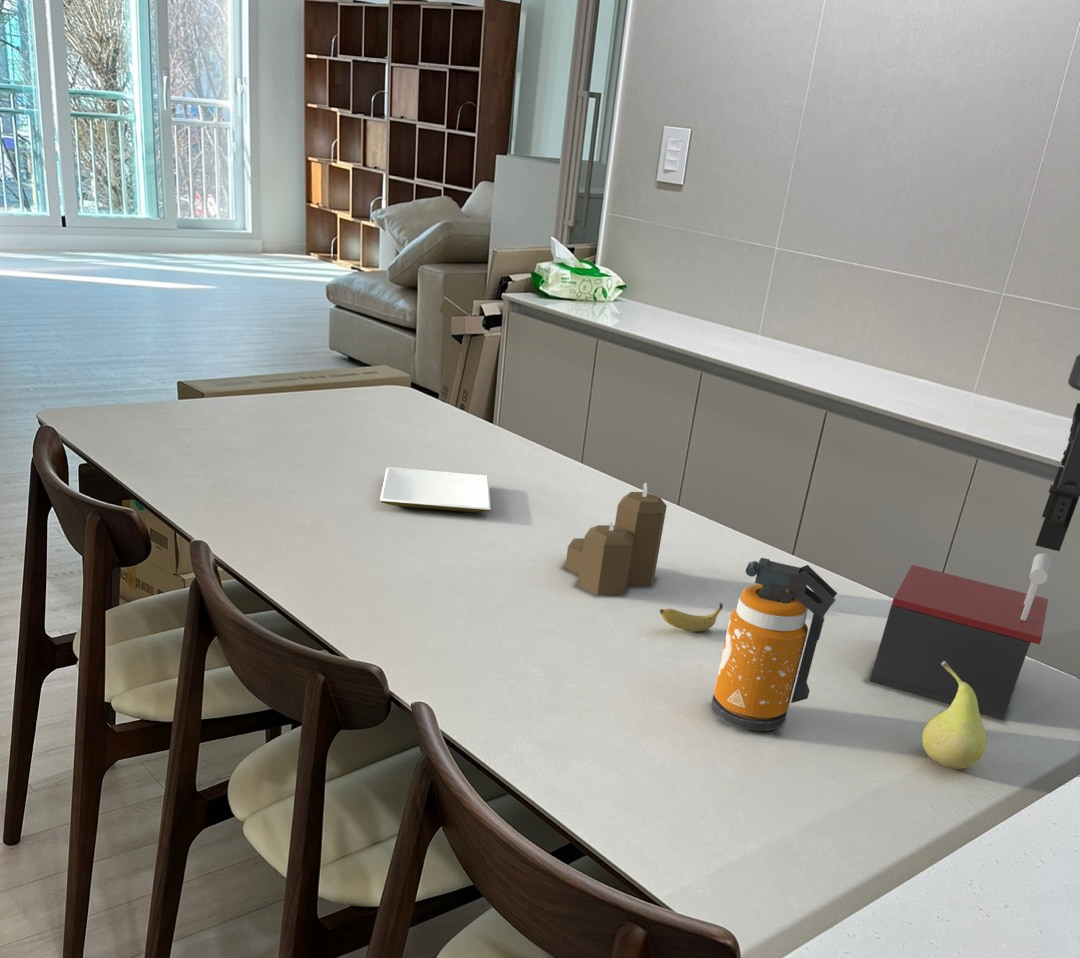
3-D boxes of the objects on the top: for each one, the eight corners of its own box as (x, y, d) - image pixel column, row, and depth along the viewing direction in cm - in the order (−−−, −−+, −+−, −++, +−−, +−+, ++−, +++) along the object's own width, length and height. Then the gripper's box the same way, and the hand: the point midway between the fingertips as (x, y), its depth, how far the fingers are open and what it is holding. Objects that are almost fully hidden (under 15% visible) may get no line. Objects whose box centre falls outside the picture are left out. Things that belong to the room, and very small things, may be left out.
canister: (717, 691, 133) (750, 542, 124) (805, 714, 131) (845, 563, 121) (703, 723, 126) (736, 566, 116) (796, 747, 123) (838, 589, 114)
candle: (639, 559, 171) (654, 469, 164) (670, 594, 160) (687, 498, 153) (559, 559, 168) (570, 467, 160) (584, 594, 156) (598, 497, 149)
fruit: (966, 787, 119) (1000, 694, 114) (902, 761, 123) (932, 669, 117) (984, 765, 124) (1017, 675, 118) (922, 740, 128) (951, 652, 122)
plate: (487, 485, 197) (488, 475, 196) (489, 520, 180) (490, 508, 179) (386, 477, 195) (386, 466, 194) (379, 510, 178) (379, 499, 177)
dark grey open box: (1011, 676, 147) (1038, 604, 142) (1002, 720, 135) (1030, 642, 130) (889, 642, 153) (909, 571, 148) (869, 681, 141) (891, 605, 136)
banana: (660, 638, 146) (665, 611, 144) (652, 630, 147) (656, 604, 146) (722, 632, 150) (727, 606, 148) (713, 625, 151) (718, 599, 150)
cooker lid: (1045, 605, 142) (1066, 549, 138) (1039, 644, 129) (1061, 584, 126) (909, 571, 148) (926, 516, 144) (891, 605, 136) (908, 546, 132)
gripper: (1081, 338, 132) (1025, 501, 142) (1074, 365, 112) (1010, 552, 122) (1146, 350, 130) (1085, 514, 140) (1151, 379, 110) (1079, 569, 120)
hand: (1050, 532), depth 131 cm, fingers open, 13 cm apart
